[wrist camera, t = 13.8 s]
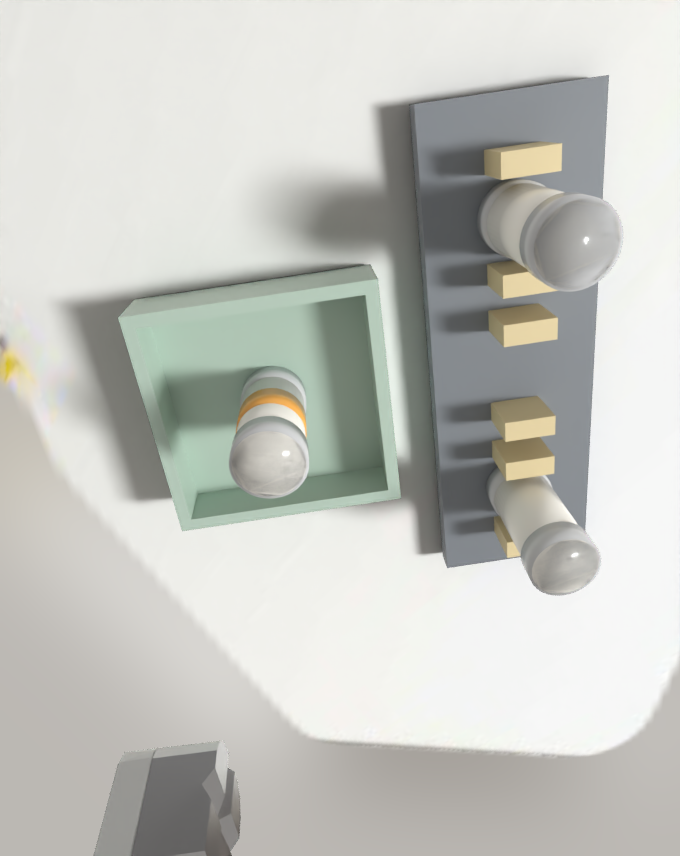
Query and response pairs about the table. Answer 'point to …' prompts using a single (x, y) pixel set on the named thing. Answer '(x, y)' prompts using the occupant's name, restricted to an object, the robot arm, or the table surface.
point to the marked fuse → (271, 434)
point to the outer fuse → (544, 534)
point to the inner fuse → (551, 232)
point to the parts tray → (244, 354)
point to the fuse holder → (504, 305)
